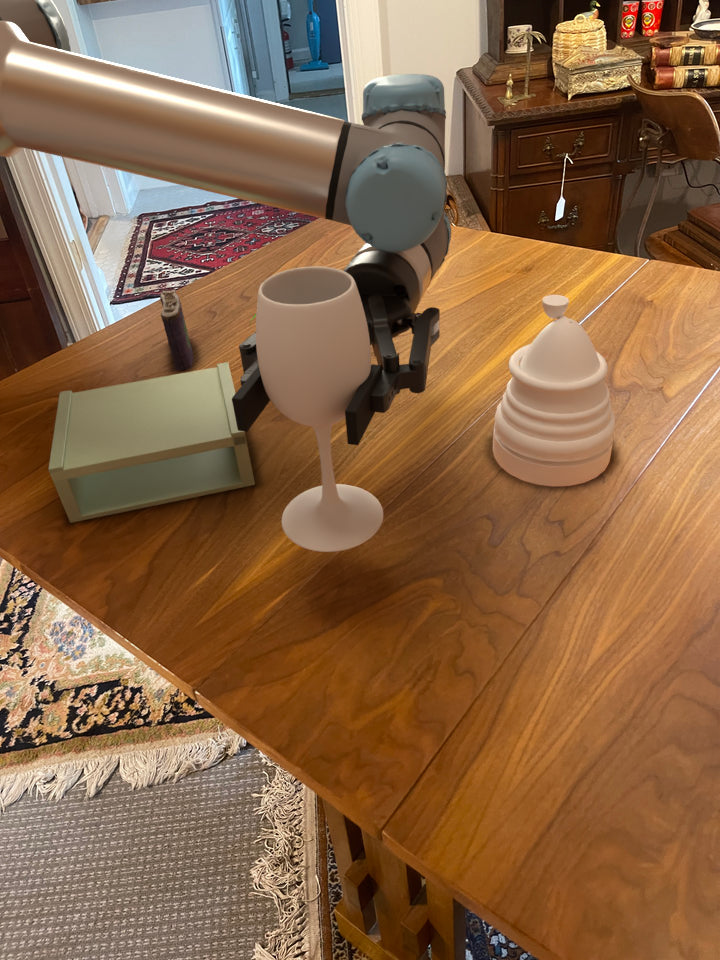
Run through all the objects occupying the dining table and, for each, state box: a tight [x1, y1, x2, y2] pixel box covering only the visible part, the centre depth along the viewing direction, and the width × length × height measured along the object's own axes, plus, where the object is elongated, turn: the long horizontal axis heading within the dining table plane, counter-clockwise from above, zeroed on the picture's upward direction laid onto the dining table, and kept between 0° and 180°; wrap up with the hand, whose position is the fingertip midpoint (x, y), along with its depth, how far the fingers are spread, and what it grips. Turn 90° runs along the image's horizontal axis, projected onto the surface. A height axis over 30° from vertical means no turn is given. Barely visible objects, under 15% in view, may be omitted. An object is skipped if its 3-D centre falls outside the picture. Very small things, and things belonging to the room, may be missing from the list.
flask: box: [159, 289, 194, 372], centre depth 104 cm, size 9×3×11 cm, turn 14°
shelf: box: [48, 361, 256, 524], centre depth 84 cm, size 20×16×8 cm
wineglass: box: [255, 265, 384, 553], centre depth 56 cm, size 9×9×21 cm
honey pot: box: [492, 294, 616, 488], centre depth 77 cm, size 13×13×18 cm
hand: (294, 421), depth 51 cm, fingers closed on wineglass, 8 cm apart
